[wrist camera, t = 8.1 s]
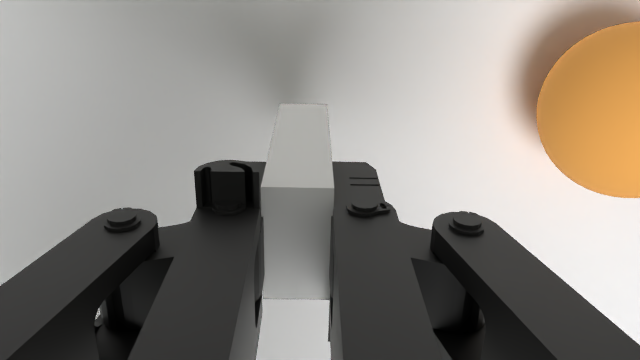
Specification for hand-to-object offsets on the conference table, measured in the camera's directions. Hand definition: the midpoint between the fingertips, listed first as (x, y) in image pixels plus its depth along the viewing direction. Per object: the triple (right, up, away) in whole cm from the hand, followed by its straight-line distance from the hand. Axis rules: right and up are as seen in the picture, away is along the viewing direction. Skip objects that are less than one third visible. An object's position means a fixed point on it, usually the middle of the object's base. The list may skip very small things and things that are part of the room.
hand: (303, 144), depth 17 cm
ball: (+11, +1, +1) cm, 11 cm away
